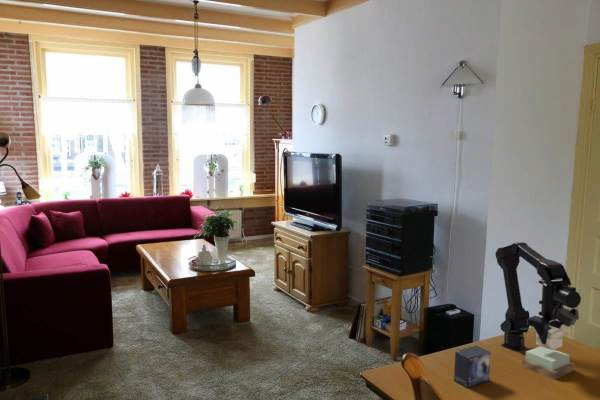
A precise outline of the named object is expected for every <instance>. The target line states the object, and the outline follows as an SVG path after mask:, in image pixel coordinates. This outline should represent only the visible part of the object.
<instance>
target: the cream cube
mask: <svg viewBox="0 0 600 400" xmlns="http://www.w3.org/2000/svg"><path fill="white" fill-rule="evenodd" d="M549 327H551V328H552V329H550V330H549V331H548V335H547V341H546V344H542V342H541V340H540V338H539V336H538V334H537V332H535V333H536V337H535V338H536V339H535V345H536V346H538V347H540V346H542V347H545V348H547V349H550V350H557V349H559V348H562V347H563V336H564V329H559V328H555V327H552V326H549Z"/></svg>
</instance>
